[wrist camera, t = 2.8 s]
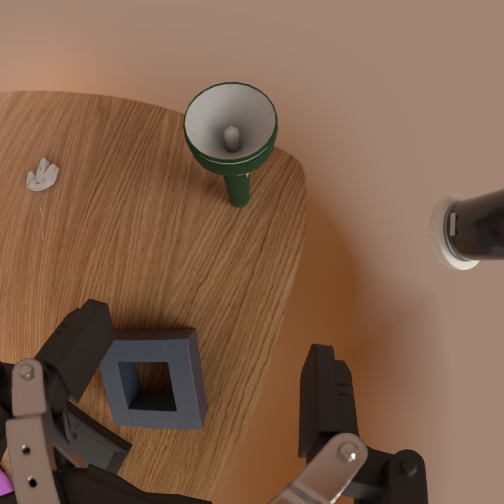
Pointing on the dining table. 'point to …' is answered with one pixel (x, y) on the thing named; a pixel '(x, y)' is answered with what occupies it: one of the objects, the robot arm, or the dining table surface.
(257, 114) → the flashlight
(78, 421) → the picture frame
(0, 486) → the blob
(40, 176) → the game controller
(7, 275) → the dining table surface
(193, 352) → the hollow square frame
